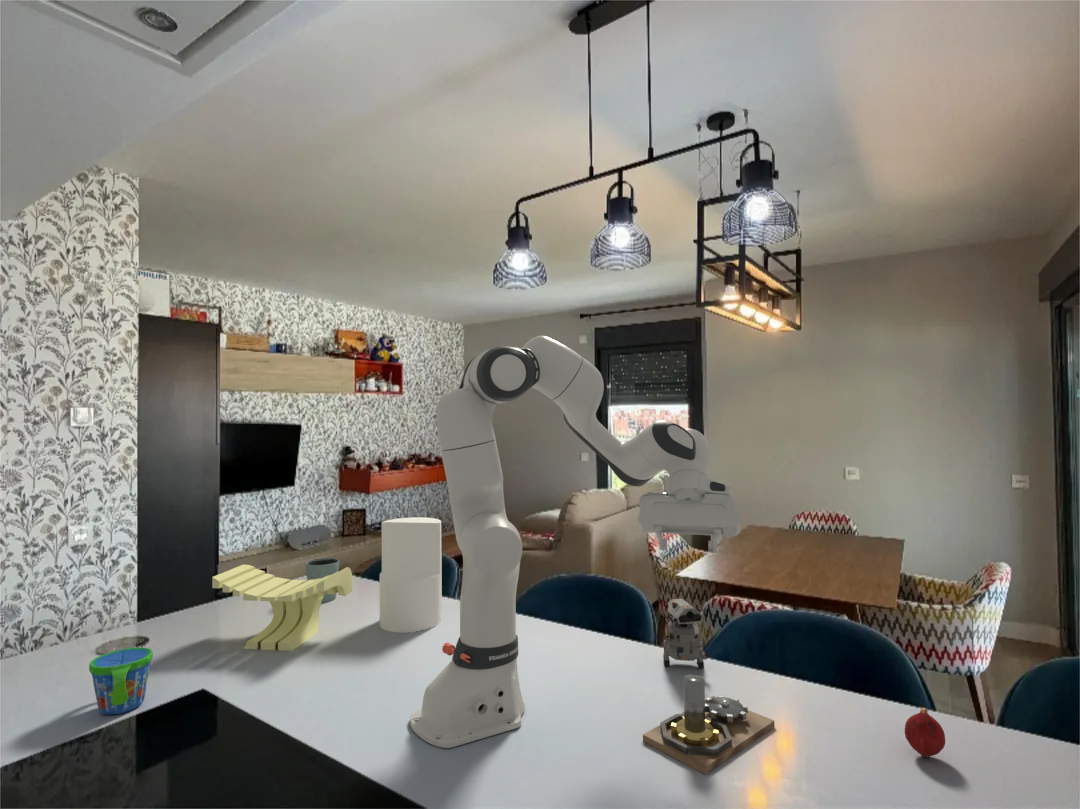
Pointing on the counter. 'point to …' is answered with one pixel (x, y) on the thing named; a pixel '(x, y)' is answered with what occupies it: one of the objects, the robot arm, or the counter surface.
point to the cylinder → (411, 574)
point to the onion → (924, 734)
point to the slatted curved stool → (284, 603)
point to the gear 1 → (694, 715)
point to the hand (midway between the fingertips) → (687, 550)
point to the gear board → (716, 753)
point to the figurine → (683, 633)
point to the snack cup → (121, 679)
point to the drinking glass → (322, 572)
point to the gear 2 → (725, 708)
